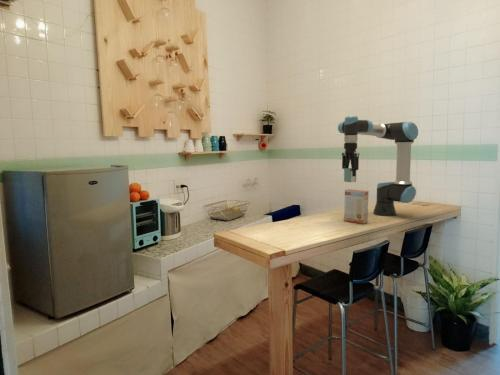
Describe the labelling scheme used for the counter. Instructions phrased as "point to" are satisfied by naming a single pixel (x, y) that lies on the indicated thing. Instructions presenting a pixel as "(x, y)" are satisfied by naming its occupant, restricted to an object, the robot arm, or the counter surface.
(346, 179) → the teal block
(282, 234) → the counter surface
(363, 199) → the cracker box
